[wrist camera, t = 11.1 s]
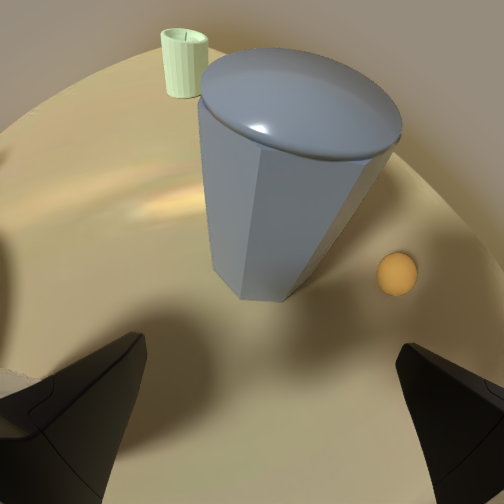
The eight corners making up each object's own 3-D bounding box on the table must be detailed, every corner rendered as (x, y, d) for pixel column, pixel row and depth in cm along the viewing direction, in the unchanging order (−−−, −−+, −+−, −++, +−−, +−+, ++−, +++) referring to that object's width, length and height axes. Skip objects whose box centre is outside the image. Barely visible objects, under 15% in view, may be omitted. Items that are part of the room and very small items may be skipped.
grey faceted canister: (308, 218, 20) (370, 67, 9) (312, 305, 17) (431, 173, 6) (219, 210, 20) (217, 43, 9) (208, 298, 17) (176, 134, 6)
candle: (210, 79, 29) (210, 22, 21) (206, 98, 26) (205, 34, 19) (171, 81, 28) (166, 25, 21) (163, 100, 26) (155, 38, 19)
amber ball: (408, 288, 18) (431, 272, 15) (385, 309, 17) (408, 296, 15) (387, 257, 19) (407, 238, 17) (362, 275, 18) (381, 257, 16)
